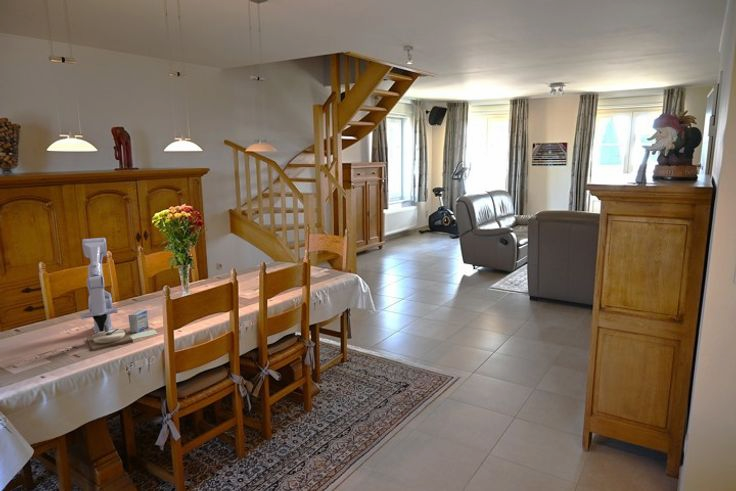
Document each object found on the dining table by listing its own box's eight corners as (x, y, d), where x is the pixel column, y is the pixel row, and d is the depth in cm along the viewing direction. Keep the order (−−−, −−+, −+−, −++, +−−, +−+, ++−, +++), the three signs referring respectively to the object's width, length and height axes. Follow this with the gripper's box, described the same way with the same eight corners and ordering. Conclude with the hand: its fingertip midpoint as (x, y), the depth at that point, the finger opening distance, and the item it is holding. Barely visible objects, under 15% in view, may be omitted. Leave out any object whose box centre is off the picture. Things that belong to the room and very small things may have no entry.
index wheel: (128, 338, 220) (127, 328, 219) (95, 345, 212) (94, 335, 211) (122, 330, 230) (121, 321, 229) (90, 336, 222) (89, 327, 221)
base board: (86, 339, 223) (86, 337, 222) (125, 331, 232) (124, 329, 232) (92, 350, 210) (92, 348, 210) (133, 341, 220) (132, 339, 219)
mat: (128, 335, 228) (128, 334, 228) (153, 329, 235) (153, 329, 235) (132, 339, 223) (132, 339, 223) (157, 333, 229) (157, 333, 229)
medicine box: (138, 333, 230) (136, 315, 229) (129, 332, 231) (128, 314, 230) (148, 327, 238) (147, 310, 236) (140, 326, 239) (139, 309, 237)
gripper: (80, 307, 213) (84, 337, 215) (117, 301, 221) (120, 329, 224) (78, 303, 218) (82, 332, 221) (114, 297, 227) (117, 325, 229)
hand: (101, 330), depth 222 cm, fingers closed
